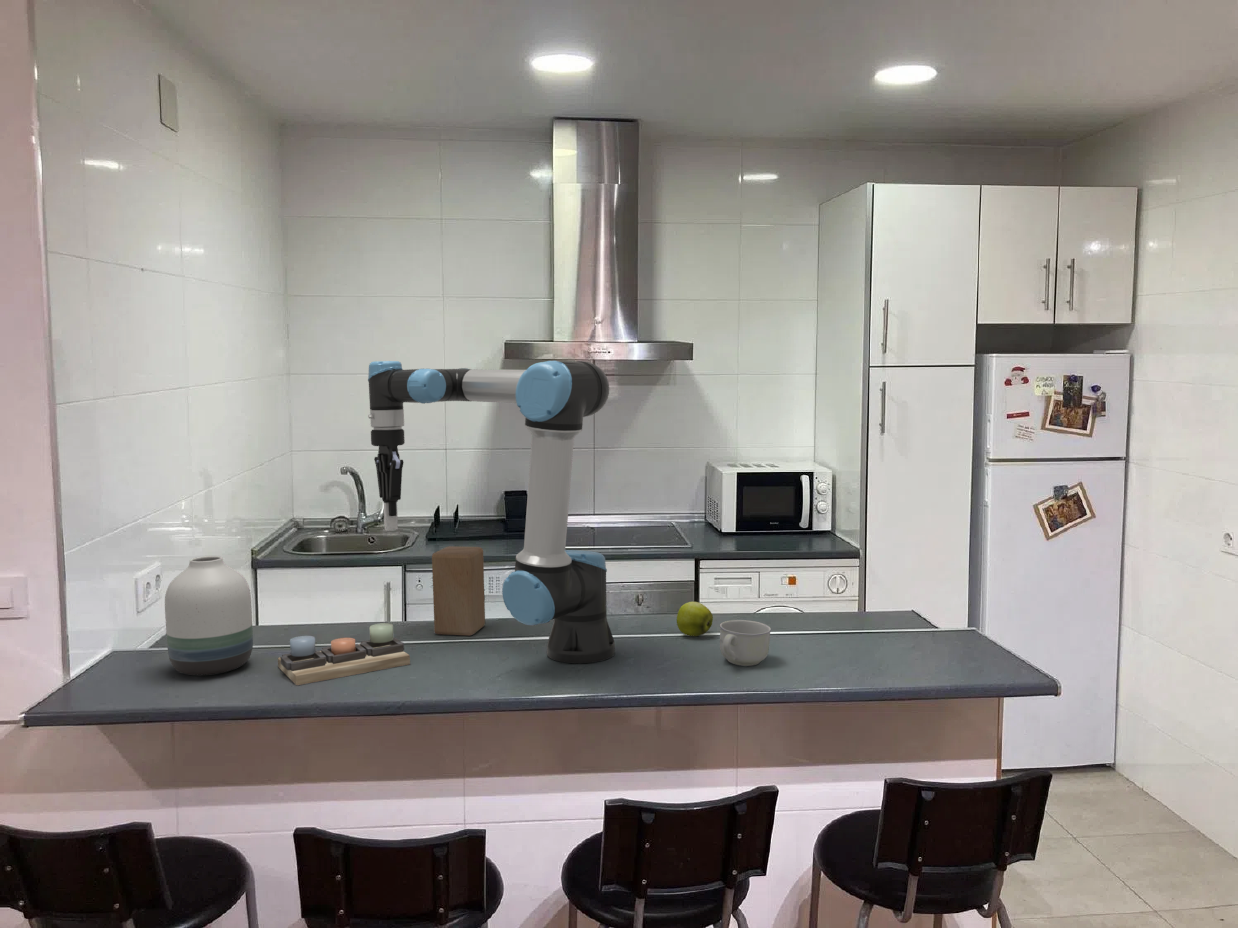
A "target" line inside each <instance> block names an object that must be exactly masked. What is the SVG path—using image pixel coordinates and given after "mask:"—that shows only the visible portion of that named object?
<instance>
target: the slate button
mask: <svg viewBox="0 0 1238 928" xmlns="http://www.w3.org/2000/svg"><path fill="white" fill-rule="evenodd" d="M289 647H290V649H289V651H290V653H291V655H292V656H308V655H312V654H314V653H315V652H316V651H317V649H316V637H315V636H312V635H299V636H295V637H292V638H290V639H289Z"/></svg>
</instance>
